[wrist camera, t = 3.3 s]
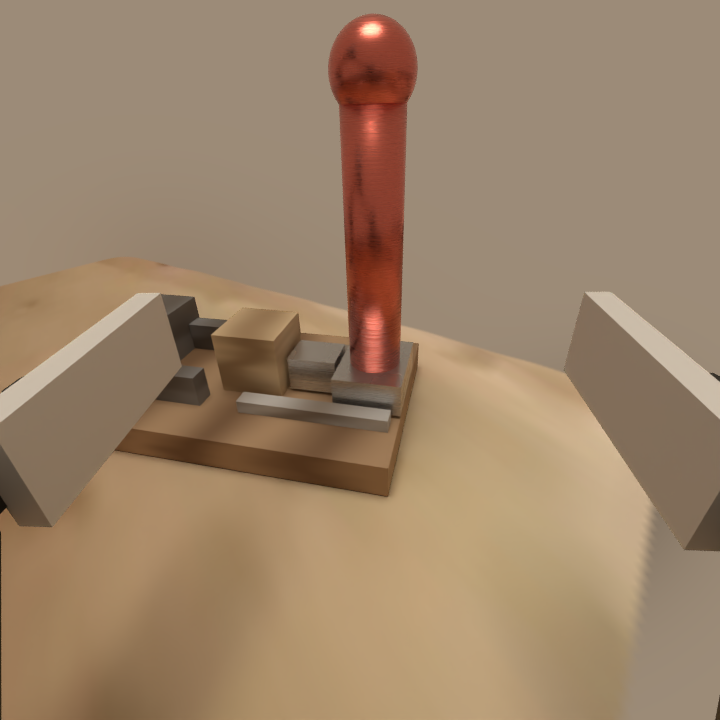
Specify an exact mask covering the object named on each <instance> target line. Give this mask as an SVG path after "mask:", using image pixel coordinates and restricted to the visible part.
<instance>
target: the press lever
mask: <svg viewBox="0 0 720 720" xmlns="http://www.w3.org/2000/svg"><path fill="white" fill-rule="evenodd" d="M417 70H418V67H417V56H416V51H415V48H414V45H413V42H412V40H411V38H410V36H409V35H408V33H407V32H406V30H405V29H404V28H403V27H402V26H401V25H400V24H399V23H398V22H396V21H395V20H394V19H392V18H390V17H387V16H385V15H381V14H367V15H362V16H360V17H358V18H355V19H354V20H352V21H351V22H349V23H348V24H347V25H346V26H345V27H344V28H343V29H342V30H341V31H340V33H339V34H338V36H337V38H336V39H335V42H334V44H333V46H332V49H331V52H330V57H329V65H328V74H329V82H330V86H331V89H332V92H333V95H334V97H335V98H336V100H337V102H338V104H339V114H340V136H341V160H342V181H343V205H344V228H345V252H346V273H347V274H346V275H347V296H348V297H347V298H348V321H349V344H350V345H349V346H348V348H347V350H346V352H345V344H339V343H328V342H317V341H307V340H300V342H299V343H298V344H297V346H296V347H295V348H294V350H293V351H292V352H291V354H290V355H289V356H288V358H287V363H288V370H289V378H290V385H291V388H293V389H302V390H310V391H318V392H326V393H332V401H333V403H338V404H346V405H354V406H362V407H370V408H378V409H385V410H391V415H393V416H401V412H402V408H403V404H404V399H405V395H406V391H407V387H408V383H409V379H410V375H411V371H412V359H413V342H403V341H400V335H401V300H402V299H401V297H402V265H403V230H404V195H405V160H406V125H407V124H406V123H407V102H408V100H409V98H410V97H411V95H412V92H413V90H414V87H415V84H416V79H417Z"/></svg>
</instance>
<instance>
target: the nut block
mask: <svg viewBox="0 0 720 720" xmlns="http://www.w3.org/2000/svg"><path fill="white" fill-rule="evenodd" d="M211 338H212V342H213V346H214V351H215V355H216V359H217V363H218V368H219V372H220V376H221V380H222V384H223V389H224V390H226V391H234V392H242V393H243V392H251V393H259V394H267V395H275V396H282V397H283V395H284V394H285V392H286V391H287V389H288V388H289V386H290V378H289V370H288V363H287V358H288V356H289V355H290V354H291V352H292V351H293V350H294V348H295V347H296V346H297V344H298V343H299V342H300V340H301V332H300V323H299V314H298V312H290V311H277V310H265V309H252V308H241V309H240V310H239V311H238V312H237V313H236V314H234V315H233V316H232V317H231V318H230V319H229V320H227V321H226V322H225V323H224V324H223V325H222V326H221V327H219V328H218V329H217V330H216V331H215V332H214V333H212V334H211Z"/></svg>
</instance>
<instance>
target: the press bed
mask: <svg viewBox="0 0 720 720" xmlns="http://www.w3.org/2000/svg"><path fill="white" fill-rule="evenodd" d="M161 296H162V299H163V303H164V306H165V310H166V313H167V317H168V320H169V323H170V327H171V330H172V334H173V337H174V341H175V344H176V347H177V351H178V354H179V358H180V361H181V365H182V367H181V368H180V369H179V370H178V372H177V373H176V374H175V375H174V377H173V378H172V379H171V380H170V382H169V383H168V384H167V385H166V387H165V388H164V389H163V390H162V392H161V393H160V394H159V395H158V397H157V398H156V399H155V400H154V402H153V403H152V404H151V405H150V407H149V408H148V409H147V410H146V412H145V413H144V414H143V415H142V416H141V418H140V419H139V420H138V421H137V423H136V424H135V425H134V426H133V428H132V429H131V430H130V431H129V433H128V434H127V435H126V436H125V438H124V439H123V440H122V441H121V443H120V444H119V445H118V446H117V448H116V449H115V450H119V451H125V452H131V453H137V454H143V455H148V456H154V457H160V458H166V459H172V460H178V461H184V462H189V463H195V464H201V465H207V466H213V467H219V468H225V469H230V470H236V471H242V472H248V473H254V474H260V475H266V476H272V477H277V478H283V479H289V480H295V481H301V482H307V483H313V484H318V485H324V486H330V487H336V488H342V489H348V490H354V491H359V492H365V493H371V494H377V495H383V496H388V494H389V489H390V485H391V480H392V476H393V472H394V467H395V463H396V458H397V454H398V450H399V445H400V441H401V436H402V432H403V427H404V423H405V419H406V414H407V410H408V405H409V401H410V397H411V392H412V388H413V383H414V379H415V374H416V370H417V364H418V346H419V344H418V343H413V359H412V371H411V375H410V379H409V383H408V387H407V391H406V395H405V399H404V404H403V408H402V412H401V416H393V415H391V410H385V409H378V408H370V407H362V406H354V405H346V404H338V403H333V401H332V393H326V392H318V391H310V390H302V389H293V388H291V385H290V386H289V388H288V389H287V391H286V392H285V394H284V395H283V397H282V396H275V395H267V394H259V393H251V392H243V393H242V392H234V391H226V390H224V389H223V384H222V380H221V376H220V372H219V368H218V363H217V359H216V355H215V351H214V346H213V342H212V338H211V334H212V333H214V332H215V331H216V330H217V329H218V328H219V327H221V326H222V325H223V324H224V323H225V322H226V321H227V320H219V319H208V318H199V314H198V310H197V306H196V302H195V298H194V297H189V296H176V295H163V294H161ZM301 340H307V341H317V342H328V343H339V344H345V352H346V350H347V348H348V346H349V345H350V344H349V337H341V336H330V335H319V334H308V333H301Z"/></svg>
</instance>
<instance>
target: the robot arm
mask: <svg viewBox="0 0 720 720" xmlns="http://www.w3.org/2000/svg"><path fill="white" fill-rule="evenodd" d="M181 367H182V365H181V361H180V358H179V354H178V351H177V347H176V344H175V341H174V337H173V334H172V330H171V327H170V323H169V320H168V317H167V313H166V310H165V306H164V303H163V299H162V296H161V293H137V294H136V295H134V296H133V297H132V298H130V299H129V300H128V301H126V302H125V303H123V304H122V305H121V306H119V307H118V308H117V309H115V310H114V311H113V312H111V313H110V314H108V315H107V316H106V317H104V318H103V319H102V320H100V321H99V322H98V323H96V324H95V325H93V326H92V327H91V328H89V329H88V330H87V331H85V332H84V333H83V334H81V335H80V336H78V337H77V338H76V339H74V340H73V341H72V342H70V343H69V344H68V345H66V346H65V347H63V348H62V349H61V350H59V351H58V352H57V353H55V354H54V355H53V356H51V357H50V358H48V359H47V360H46V361H44V362H43V363H42V364H40V365H39V366H38V367H36V368H35V369H33V370H32V371H31V372H29V373H28V374H27V375H25V376H23V377H21V378H19V379H18V380H16V381H15V382H14V383H12V384H11V385H10V386H8V387H7V388H5V389H4V390H3V391H2V393H1V394H0V514H1V513H2V512H3V510H4V509H5V508H7V509H8V511H9V512H10V513H11V515H12V516H13V518H14V519H15V521H16V522H17V524H18V525H19V526H31V527H53V526H54V525H55V523H56V522H57V521H58V520H59V518H60V517H61V516H62V515H63V513H64V512H65V511H66V510H67V508H68V507H69V506H70V505H71V504H72V502H73V501H74V500H75V499H76V497H77V496H78V495H79V494H80V492H81V491H82V490H83V489H84V487H85V486H86V485H87V484H88V482H89V481H90V480H91V479H92V477H93V476H94V475H95V474H96V472H97V471H98V470H99V469H100V467H101V466H102V465H103V464H104V462H105V461H106V460H107V459H108V458H109V456H110V455H111V454H112V453H113V451H114V450H115V449H116V448H117V446H118V445H119V444H120V443H121V441H122V440H123V439H124V438H125V436H126V435H127V434H128V433H129V431H130V430H131V429H132V428H133V426H134V425H135V424H136V423H137V421H138V420H139V419H140V418H141V416H142V415H143V414H144V413H145V412H146V410H147V409H148V408H149V407H150V405H151V404H152V403H153V402H154V400H155V399H156V398H157V397H158V395H159V394H160V393H161V392H162V390H163V389H164V388H165V387H166V385H167V384H168V383H169V382H170V380H171V379H172V378H173V377H174V375H175V374H176V373H177V372H178V370H179V369H180V368H181ZM564 371H565V373H566V374H567V376H568V377H569V379H570V380H571V382H572V383H573V385H574V386H575V388H576V389H577V391H578V392H579V394H580V395H581V397H582V398H583V400H584V401H585V403H586V404H587V406H588V407H589V409H590V410H591V412H592V413H593V414H594V416H595V417H596V419H597V420H598V422H599V423H600V425H601V426H602V428H603V429H604V431H605V432H606V434H607V435H608V437H609V438H610V440H611V441H612V443H613V444H614V446H615V447H616V449H617V450H618V452H619V453H620V455H621V456H622V458H623V459H624V461H625V462H626V464H627V465H628V467H629V468H630V470H631V471H632V473H633V474H634V476H635V477H636V479H637V480H638V482H639V483H640V485H641V486H642V488H643V489H644V491H645V492H646V494H647V495H648V497H649V498H650V500H651V501H652V503H653V504H654V506H655V507H656V509H657V510H658V512H659V513H660V515H661V516H662V518H663V519H664V521H665V522H666V524H667V525H668V527H669V528H670V530H671V531H672V533H673V534H674V536H675V537H676V539H677V540H678V542H679V543H680V545H681V546H682V548H683V549H684V550H700V551H720V376H718V375H716V374H714V373H708V372H707V371H706V370H705V369H703V368H702V367H701V366H700V365H699V364H697V363H696V362H695V361H694V360H692V359H691V358H690V357H689V356H688V355H686V354H685V353H684V352H683V351H682V350H680V349H679V348H678V347H677V346H676V345H674V344H673V343H672V342H671V341H670V340H668V339H667V338H666V337H665V336H663V335H662V334H661V333H660V332H659V331H657V330H656V329H655V328H654V327H653V326H651V325H650V324H649V323H648V322H647V321H645V320H644V319H643V318H642V317H641V316H639V315H638V314H637V313H636V312H635V311H633V310H632V309H631V308H630V307H628V306H627V305H626V304H625V303H624V302H622V301H621V300H620V299H619V298H618V297H616V296H615V295H614V294H613V293H612V292H584V295H583V299H582V303H581V306H580V311H579V314H578V318H577V321H576V325H575V329H574V333H573V336H572V340H571V344H570V348H569V351H568V355H567V359H566V363H565V366H564ZM0 720H1V532H0ZM715 720H720V697H719V703H718V708H717V714H716V719H715Z"/></svg>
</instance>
